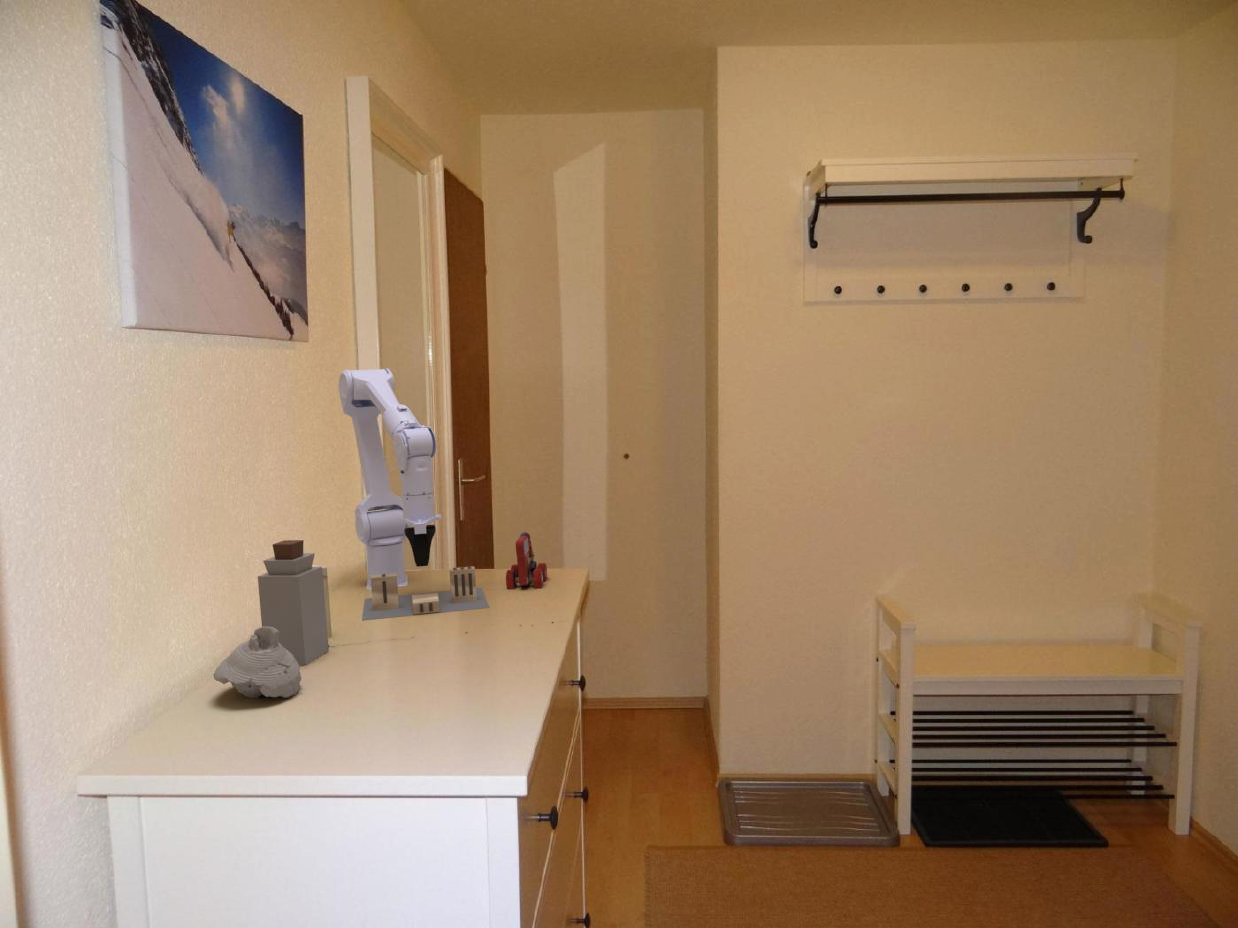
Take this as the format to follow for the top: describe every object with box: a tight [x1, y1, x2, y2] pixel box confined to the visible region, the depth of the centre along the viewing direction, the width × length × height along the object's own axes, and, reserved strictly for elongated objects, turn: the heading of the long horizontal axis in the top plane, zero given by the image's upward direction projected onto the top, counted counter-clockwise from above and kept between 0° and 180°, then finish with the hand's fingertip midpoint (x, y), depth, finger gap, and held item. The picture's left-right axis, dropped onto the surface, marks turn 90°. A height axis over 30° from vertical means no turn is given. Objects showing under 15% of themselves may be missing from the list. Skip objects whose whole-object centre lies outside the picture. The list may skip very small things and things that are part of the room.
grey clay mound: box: [213, 626, 302, 699], centre depth 125 cm, size 12×12×11 cm
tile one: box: [370, 573, 399, 611], centre depth 166 cm, size 2×4×6 cm, turn 103°
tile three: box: [449, 565, 477, 603], centre depth 169 cm, size 2×4×6 cm, turn 103°
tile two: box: [412, 593, 440, 614], centre depth 164 cm, size 2×4×6 cm
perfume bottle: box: [257, 539, 330, 666], centre depth 140 cm, size 7×7×18 cm
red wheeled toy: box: [505, 531, 548, 590], centre depth 181 cm, size 7×12×10 cm, turn 177°
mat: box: [361, 586, 490, 621], centre depth 169 cm, size 16×22×1 cm
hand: (422, 565), depth 171 cm, fingers closed
